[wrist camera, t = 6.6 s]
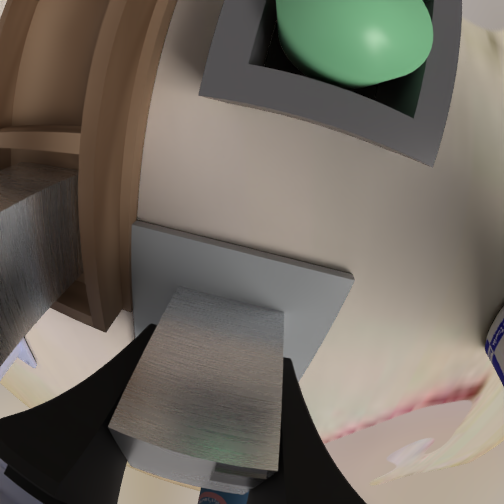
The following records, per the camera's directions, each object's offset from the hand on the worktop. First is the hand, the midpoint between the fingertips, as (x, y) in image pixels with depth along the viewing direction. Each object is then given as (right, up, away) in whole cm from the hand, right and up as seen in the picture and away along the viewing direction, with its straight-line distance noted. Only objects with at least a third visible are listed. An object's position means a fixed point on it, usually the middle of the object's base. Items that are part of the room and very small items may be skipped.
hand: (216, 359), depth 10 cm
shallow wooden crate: (-6, +9, -2) cm, 11 cm away
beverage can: (+17, 0, 0) cm, 17 cm away
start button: (+3, +9, -5) cm, 11 cm away
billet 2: (0, +1, +1) cm, 1 cm away
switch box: (+4, +10, -4) cm, 11 cm away
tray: (0, +1, +1) cm, 2 cm away
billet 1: (-7, +6, -1) cm, 9 cm away
